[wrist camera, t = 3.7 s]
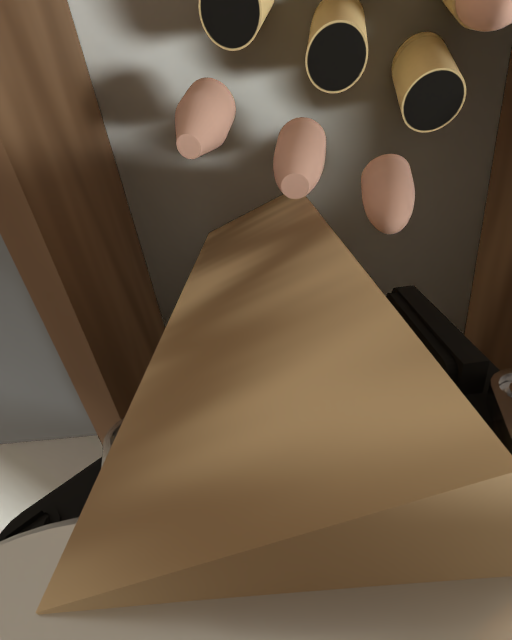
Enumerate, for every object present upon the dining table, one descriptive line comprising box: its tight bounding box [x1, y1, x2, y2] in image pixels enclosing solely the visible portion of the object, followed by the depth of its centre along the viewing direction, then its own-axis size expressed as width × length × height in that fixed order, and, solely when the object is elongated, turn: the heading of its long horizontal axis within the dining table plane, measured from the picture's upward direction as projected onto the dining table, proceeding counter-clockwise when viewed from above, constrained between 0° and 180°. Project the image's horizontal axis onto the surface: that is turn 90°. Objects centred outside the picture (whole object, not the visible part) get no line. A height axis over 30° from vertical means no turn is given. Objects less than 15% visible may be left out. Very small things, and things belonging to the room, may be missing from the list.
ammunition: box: [175, 0, 512, 234], centre depth 10 cm, size 5×7×8 cm
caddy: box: [0, 0, 512, 445], centre depth 11 cm, size 16×23×6 cm
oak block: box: [36, 194, 512, 615], centre depth 10 cm, size 4×10×13 cm, turn 27°
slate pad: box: [0, 234, 97, 444], centre depth 16 cm, size 10×14×1 cm
